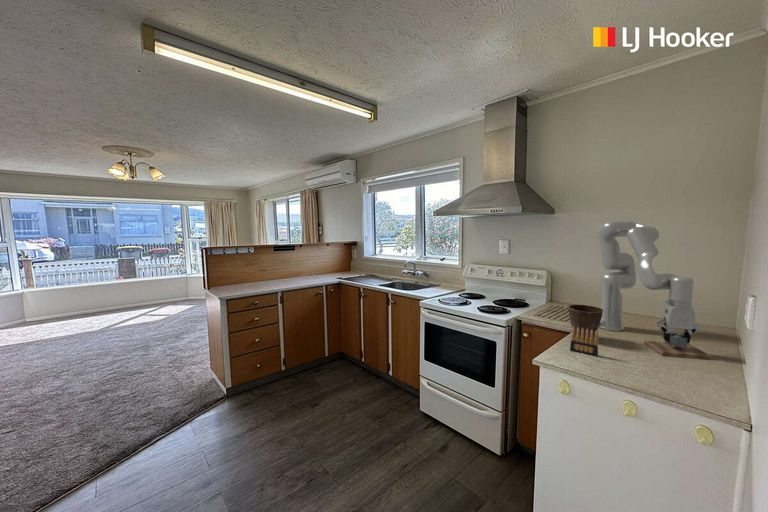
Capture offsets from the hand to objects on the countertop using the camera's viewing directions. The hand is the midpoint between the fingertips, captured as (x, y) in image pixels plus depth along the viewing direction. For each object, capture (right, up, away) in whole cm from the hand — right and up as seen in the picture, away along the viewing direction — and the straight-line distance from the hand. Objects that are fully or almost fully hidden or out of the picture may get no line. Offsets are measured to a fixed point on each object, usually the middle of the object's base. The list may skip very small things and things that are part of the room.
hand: (676, 341), depth 140 cm
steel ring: (0, -1, 0) cm, 1 cm away
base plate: (0, -5, 0) cm, 5 cm away
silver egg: (0, -3, 0) cm, 3 cm away
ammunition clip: (-43, -6, 0) cm, 43 cm away
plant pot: (-31, -4, +18) cm, 36 cm away
